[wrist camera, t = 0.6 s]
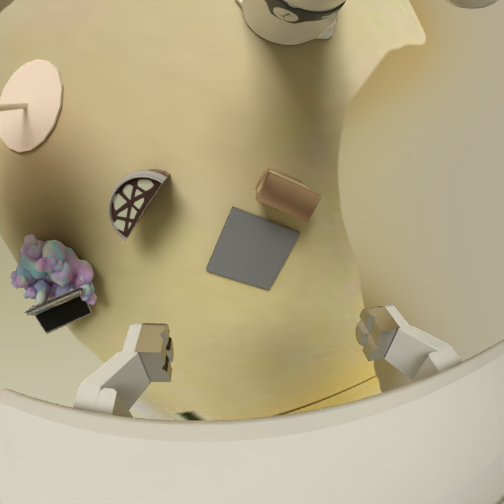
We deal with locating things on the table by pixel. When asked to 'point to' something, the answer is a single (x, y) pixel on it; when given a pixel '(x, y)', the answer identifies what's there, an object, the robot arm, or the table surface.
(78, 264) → the pastel lumpy piece
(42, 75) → the orange pedestal table
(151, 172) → the half chocolate cake
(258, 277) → the mat
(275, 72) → the table surface
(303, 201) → the tall wooden block
